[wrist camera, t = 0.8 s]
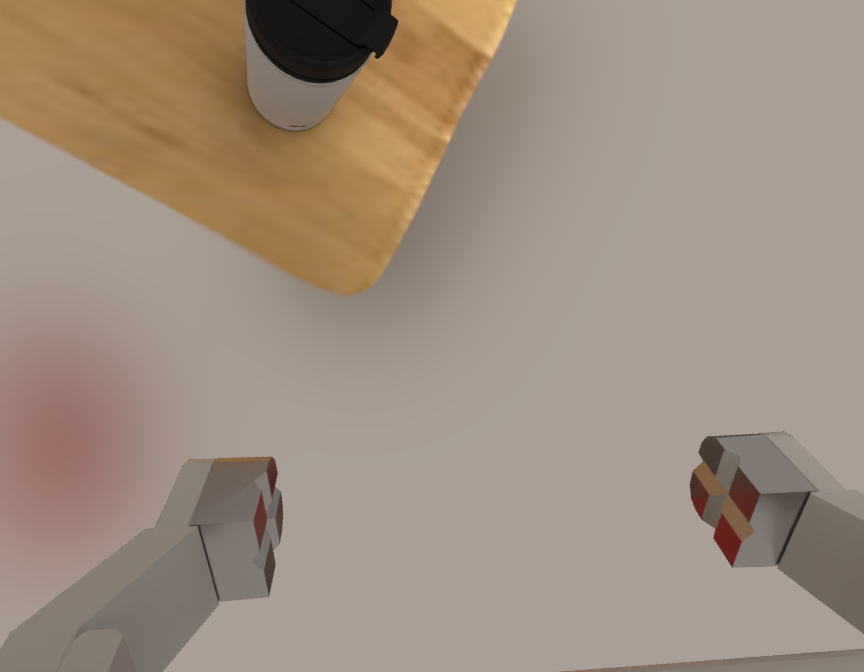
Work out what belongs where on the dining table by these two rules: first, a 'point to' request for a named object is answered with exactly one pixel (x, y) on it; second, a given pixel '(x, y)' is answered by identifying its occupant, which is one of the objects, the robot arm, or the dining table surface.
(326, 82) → the travel mug
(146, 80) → the dining table surface
